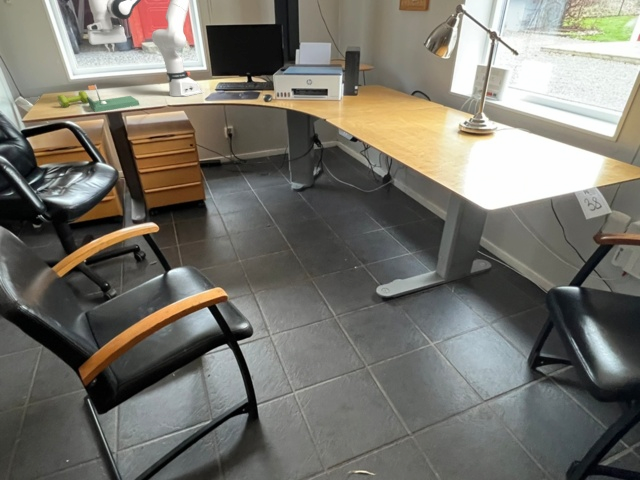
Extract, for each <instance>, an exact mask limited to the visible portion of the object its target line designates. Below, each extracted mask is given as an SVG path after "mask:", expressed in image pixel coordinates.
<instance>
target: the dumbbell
mask: <svg viewBox="0 0 640 480" xmlns="http://www.w3.org/2000/svg"><path fill="white" fill-rule="evenodd" d="M87 97H89V95H88V94H87V92H86V91H84V90H81V91H78V95H75V96H69V97H66V96H65V95H64V94H58V95H57V101H58V103H59V105H60V106H61V107H62V108H64V109H65V108H69V107H70V104H71V103H75V102H82V103H83V104H89V103H88V100H87Z"/></svg>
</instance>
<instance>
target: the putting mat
mask: <svg viewBox="0 0 640 480" xmlns="http://www.w3.org/2000/svg"><path fill="white" fill-rule="evenodd" d="M87 88H88V90H89V91H95V90H96V91H95V92H96V94H97V98H98V100H93V99H92V98H90V97H89V96H88V97H87V100H88V103H87V104H88V105H89V107H90V109H92V110H93V111H94V112H95V113H99V112H106V111H110V110H118V109H124V108H130V106H131V107H136V106H140V102H139V100H138V99H136V98H135V97H133V96H131V95H129V96H128V95H127V96H121V97H114V98H108V99H101V97H100V94H99V90H98V88H97V84H94V85H93V84H92V85H87ZM102 101H105V102H107V103H106V104H101V102H102Z"/></svg>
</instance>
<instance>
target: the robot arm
mask: <svg viewBox="0 0 640 480" xmlns="http://www.w3.org/2000/svg"><path fill="white" fill-rule="evenodd" d="M141 1H142V0H88V5H89V8H90V12H91V13H92V14H91V15H92V16H93V21H94V22H93V23H90V24H88V25H87V26H86V28H87V38H88V42H89V44H90V45H92V46H95V45H96V46H97V45H104V47H105V48H106V49H107V51H108V53H115V44H119V43H122V44H123V43H127V41H128V40H127V39H128V38H127V36H126V34H125V31H126V30H125V28H124V26H123V25H121V24H113V23H112V20H111V19H112V18H114V19H121V20H128V19H129V18H131V16H132V13H133V11H134V8H135V7H136V6H137V5H138V4H139V3H140V2H141ZM189 5H190V0H170V1H169V4H168V7H167V11H166V14H165V19H166V21H167V27H166V28H158V29H156V30H154V31H153V32H152V35H151V41H152V43H153V44H154V45H155V46H156V47H157V49H158V50H159V52H160V54H161V56H162V58H163V61H164V65H165V68H166V69H165V70H166V77H167V81H168V85H169V86H168V87H169V96H171V97H188V96H189V97H190V96H194V95H199V94H203V93H204V90H203V89H202V88H200V85H199V84H198V82H197V81H196V80H194V79H192V77H189V76H191V72H190V71H187V70H185V68H184V63H183V58H182V57H181V56H180V55H179V53H178V52H177V50H180V49H183V48H185V47H186V45H187V38H186V35H185V33H184V26H185V22H186V18H187V15H188V13H189V12H188V11H189V7H190V6H189ZM109 44H110V45H111V46H112V47H111V48H110V47H108V46H109Z"/></svg>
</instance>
